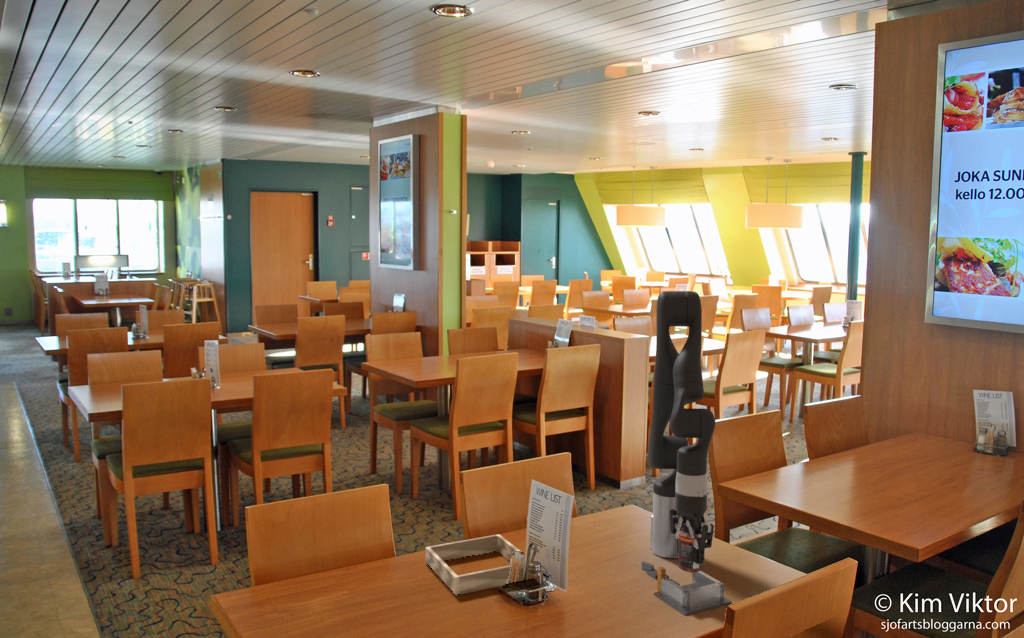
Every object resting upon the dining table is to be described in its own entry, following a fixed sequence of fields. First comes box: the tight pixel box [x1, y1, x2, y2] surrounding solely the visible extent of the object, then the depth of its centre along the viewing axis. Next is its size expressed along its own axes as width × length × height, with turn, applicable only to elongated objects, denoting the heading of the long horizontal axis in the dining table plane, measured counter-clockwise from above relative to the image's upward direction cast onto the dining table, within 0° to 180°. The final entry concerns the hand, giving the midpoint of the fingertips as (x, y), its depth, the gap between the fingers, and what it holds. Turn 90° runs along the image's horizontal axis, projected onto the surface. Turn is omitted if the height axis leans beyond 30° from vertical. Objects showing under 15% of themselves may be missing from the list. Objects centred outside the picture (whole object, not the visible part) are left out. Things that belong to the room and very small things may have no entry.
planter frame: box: [424, 533, 521, 596], centre depth 200 cm, size 22×22×4 cm
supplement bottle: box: [677, 522, 704, 573], centre depth 184 cm, size 6×6×11 cm
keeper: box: [653, 566, 733, 616], centre depth 184 cm, size 12×14×6 cm
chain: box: [641, 560, 681, 586], centre depth 196 cm, size 14×2×2 cm, turn 26°
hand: (690, 557), depth 184 cm, fingers closed on supplement bottle, 6 cm apart
